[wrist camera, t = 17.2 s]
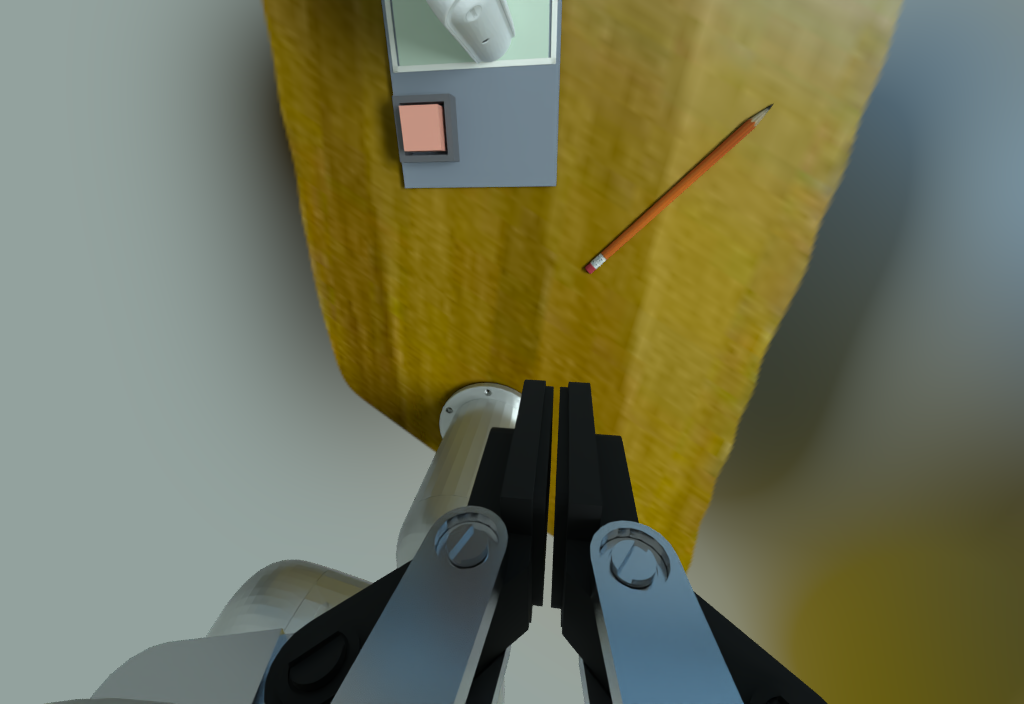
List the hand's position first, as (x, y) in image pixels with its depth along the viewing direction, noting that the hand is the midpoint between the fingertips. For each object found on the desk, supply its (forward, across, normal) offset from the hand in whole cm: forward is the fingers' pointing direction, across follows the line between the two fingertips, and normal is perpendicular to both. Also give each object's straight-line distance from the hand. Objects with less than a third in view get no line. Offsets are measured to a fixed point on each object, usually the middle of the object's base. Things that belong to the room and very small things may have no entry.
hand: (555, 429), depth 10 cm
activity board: (+29, +8, -15) cm, 34 cm away
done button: (+28, +12, -10) cm, 32 cm away
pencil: (+30, -9, -4) cm, 31 cm away
